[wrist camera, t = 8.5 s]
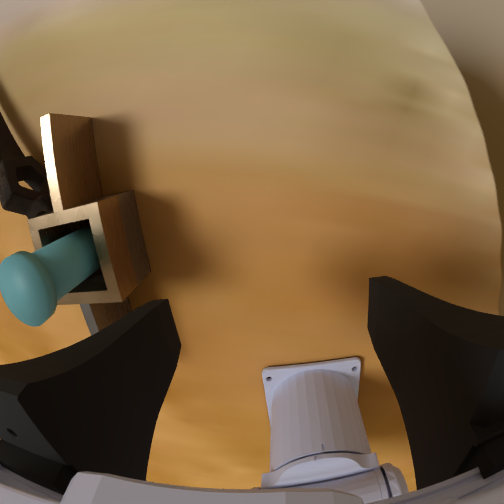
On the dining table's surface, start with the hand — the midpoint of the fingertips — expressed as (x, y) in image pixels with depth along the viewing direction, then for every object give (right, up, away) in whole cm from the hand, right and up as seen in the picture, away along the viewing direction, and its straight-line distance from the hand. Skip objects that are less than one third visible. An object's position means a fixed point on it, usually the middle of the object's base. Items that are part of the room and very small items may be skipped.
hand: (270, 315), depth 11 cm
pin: (-11, +3, +11) cm, 16 cm away
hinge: (-11, +3, +11) cm, 16 cm away
